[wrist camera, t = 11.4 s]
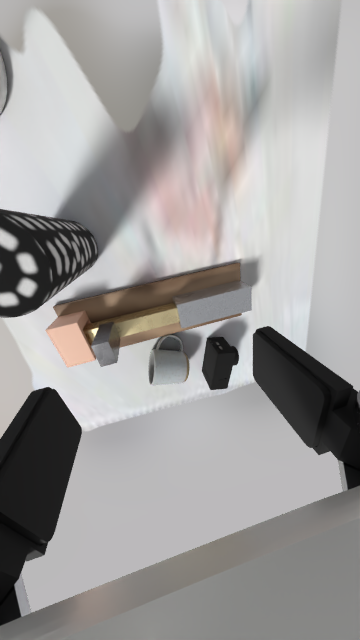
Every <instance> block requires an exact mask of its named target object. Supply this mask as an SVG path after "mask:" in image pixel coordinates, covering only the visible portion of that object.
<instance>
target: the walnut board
mask: <svg viewBox="0 0 360 640" xmlns="http://www.w3.org/2000/svg"><path fill="white" fill-rule="evenodd" d="M238 280H239V281H240V263H233V264H229V265H225V266H221V267H216V268H212V269H208V270H204V271H199V272H195V273H191V274H186V275H182V276H178V277H174V278H169V279H165V280H161V281H157V282H152V283H148V284H144V285H140V286H135V287H131V288H127V289H123V290H118V291H114V292H110V293H106V294H101V295H97V296H93V297H88V298H84V299H80V300H76V301H71V302H67V303H63V304H59V305H55V306H54V307H53V308H54V310H55V312H56V314H57V316H58V317H59V316H64V315H68V314H72V313H76V312H80V311H84V310H85V311H86V314H87V316H88V318H89V320H90V322H91V323H94V322H98V321H102V320H106V319H111V318H115V317H119V316H123V315H127V314H131V313H135V312H139V311H143V310H147V309H151V308H155V307H159V306H163V305H167V304H171V303H173V298H172V297H173V296H177V295H181V294H185V293H189V292H193V291H197V290H201V289H205V288H209V287H213V286H217V285H221V284H226V283H230V282H234V281H238ZM240 315H241V313H239V314H235V315H231V316H227V317H224V318H220V319H216V320H212V321H209V322H205V323H201V324H197V325H193V326H190V327H186V328H181V326H180V324H179V322H177V323H174V324H170V325H166V326H162V327H158V328H154V329H151V330H147V331H143V332H139V333H135V334H131V335H127V336H124V337H120V339H121V341H120V347H124V346H127V345H131V344H135V343H139V342H143V341H146V340H150V339H154V338H158V337H161V336H165V335H169V334H173V333H176V332H180V331H184V330H188V329H191V328H195V327H199V326H203V325H206V324H210V323H214V322H218V321H222V320H225V319H229V318H233V317H237V316H240ZM120 347H119V348H120Z"/></svg>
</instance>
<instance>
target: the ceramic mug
mask: <svg viewBox="0 0 360 640" xmlns="http://www.w3.org/2000/svg"><path fill="white" fill-rule="evenodd" d="M167 337H169V338H173V339H175V340H178V341H179V343H180V351H171V350H162V349H159V347H160V345H161V343H162V341H163V340H164V339H166V338H167ZM188 375H189V360H188V357H187V355H186V354H185V353H184V352H183V344H182V341H181V340H180V338H179V337H177V336H175V335H171V334H169V335H165V336H163V337H162V338H161V339H160V340H159V342H158V344H157V348H156V349H152V351H151V354H150V358H149V381H150V384H151V385H165V384H179V383H183V382H185V381H186V380H187V378H188Z"/></svg>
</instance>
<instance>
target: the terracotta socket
mask: <svg viewBox="0 0 360 640" xmlns="http://www.w3.org/2000/svg"><path fill="white" fill-rule="evenodd" d="M90 323H91V322H90V320H89V318H88V316H87V314H86V311H85V310H84V311H80V312H76V313H72V314H68V315H64V316H59V317H57V319H56V320H55V321H54V322H53V323H52V324H51V325H50V326H49V327H48V328H47V329H46V330H45V331H46V332H47V334H48V336H49V337H50V339H51V341H52V342H53V344H54V346H55V347H56V349H57V351H58V352H59V354H60V356H61V357H62V359H63V361H64V362H65V364H66V366H67V367H72V366H75V365H79V364H83V363H86V362H90V361H94V360H95V359H96V355H95V353H94V351H93V349H92V347H91V345H90V344H89V342H88V340H87V338H86V336H85V334H84V332H83V328H84V326H85V325H86V324H90Z"/></svg>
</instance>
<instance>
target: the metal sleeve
mask: <svg viewBox="0 0 360 640" xmlns="http://www.w3.org/2000/svg"><path fill="white" fill-rule="evenodd" d="M172 298H173V303H175V304H176V306H177V310H178V315H179V320H180V322H179V324H180V326H181V328H186V327H190V326H193V325H197V324H201V323H205V322H209V321H212V320H216V319H220V318H224V317H227V316H231V315H235V314H239V313H243V312H246V311H250V310H251V286H249V285H247V284H245V283H243V282H241V281H239V280H238V281H234V282H230V283H226V284H221V285H217V286H213V287H209V288H205V289H201V290H197V291H193V292H189V293H185V294H181V295H177V296H173V297H172Z"/></svg>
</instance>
